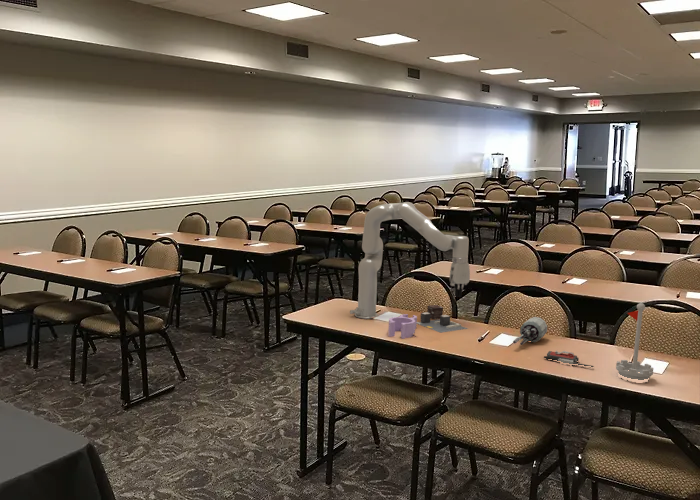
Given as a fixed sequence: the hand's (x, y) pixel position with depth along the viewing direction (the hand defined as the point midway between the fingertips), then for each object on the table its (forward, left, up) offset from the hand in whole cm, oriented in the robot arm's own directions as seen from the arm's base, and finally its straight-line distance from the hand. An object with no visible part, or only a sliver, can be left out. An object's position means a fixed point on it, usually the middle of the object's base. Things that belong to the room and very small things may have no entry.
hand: (458, 296), depth 298 cm
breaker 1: (-13, +9, -14) cm, 21 cm away
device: (+9, -39, -15) cm, 43 cm away
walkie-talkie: (+3, -65, -16) cm, 67 cm away
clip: (-33, +1, -16) cm, 37 cm away
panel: (-10, 0, -15) cm, 18 cm away
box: (-2, +14, -16) cm, 21 cm away
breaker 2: (-8, 0, -14) cm, 16 cm away
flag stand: (+10, -90, -16) cm, 92 cm away
